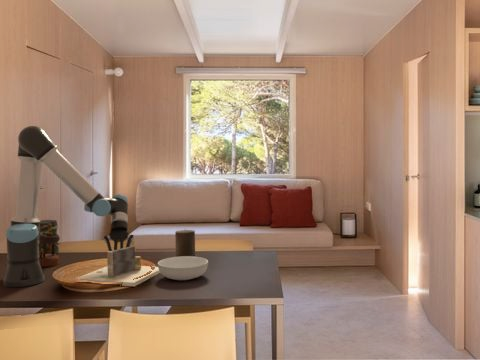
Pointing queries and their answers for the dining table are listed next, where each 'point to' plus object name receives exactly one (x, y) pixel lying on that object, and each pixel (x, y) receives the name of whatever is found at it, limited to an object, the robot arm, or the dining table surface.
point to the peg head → (122, 261)
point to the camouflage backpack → (53, 230)
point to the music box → (48, 247)
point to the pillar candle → (185, 243)
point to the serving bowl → (182, 267)
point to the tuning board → (121, 276)
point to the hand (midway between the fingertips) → (118, 269)
